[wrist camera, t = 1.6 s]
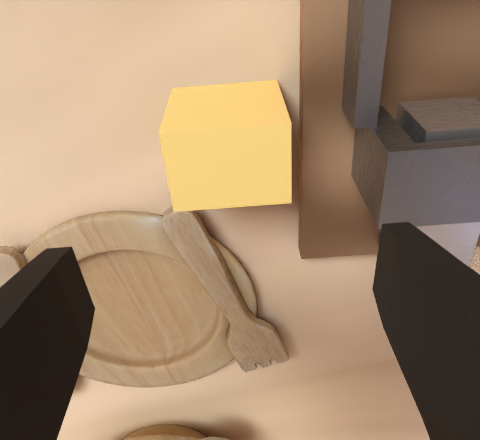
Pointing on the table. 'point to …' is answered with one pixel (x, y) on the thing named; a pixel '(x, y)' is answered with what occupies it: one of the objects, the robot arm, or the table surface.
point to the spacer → (227, 146)
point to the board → (392, 92)
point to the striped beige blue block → (444, 129)
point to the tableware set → (159, 302)
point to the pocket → (364, 60)
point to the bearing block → (415, 176)
